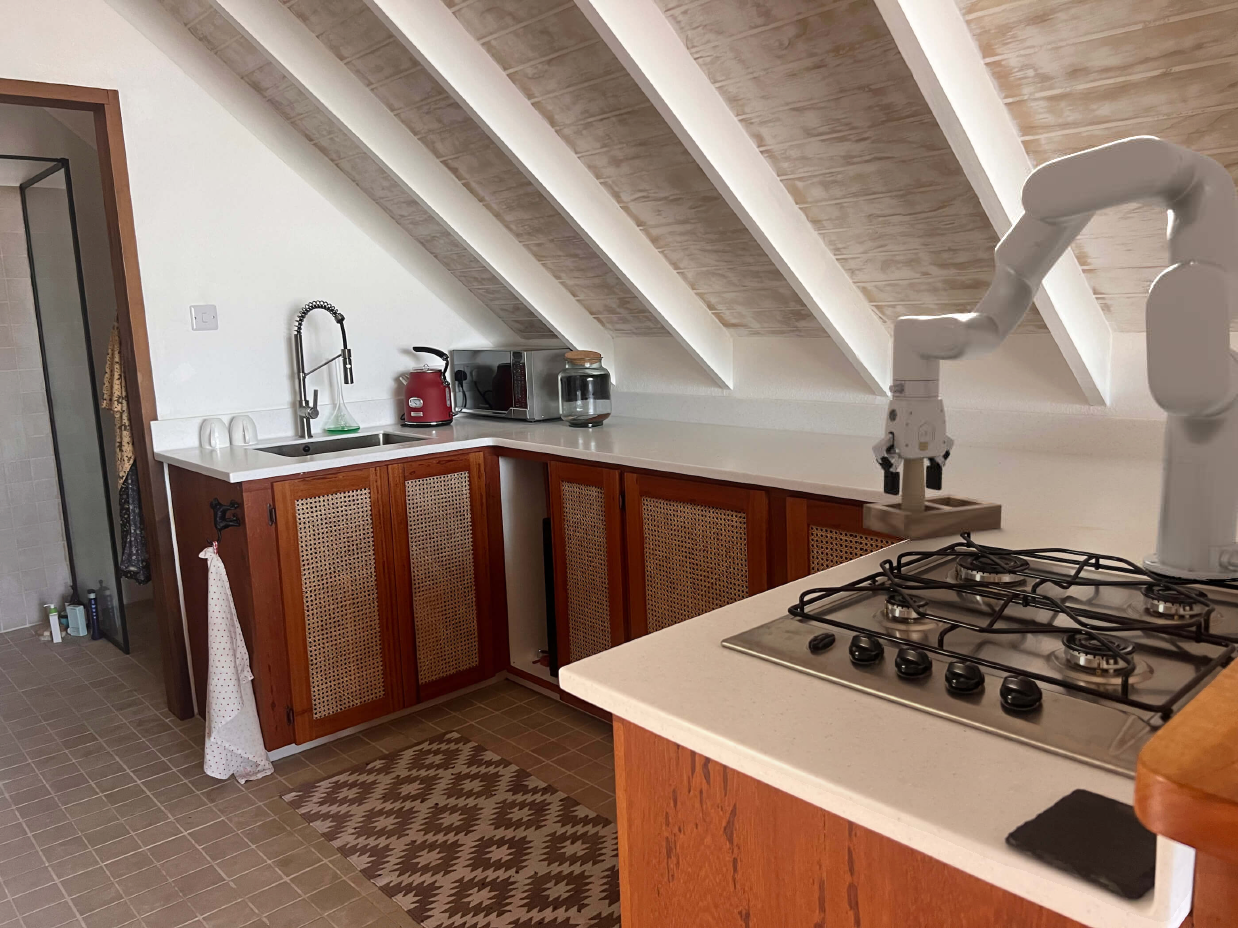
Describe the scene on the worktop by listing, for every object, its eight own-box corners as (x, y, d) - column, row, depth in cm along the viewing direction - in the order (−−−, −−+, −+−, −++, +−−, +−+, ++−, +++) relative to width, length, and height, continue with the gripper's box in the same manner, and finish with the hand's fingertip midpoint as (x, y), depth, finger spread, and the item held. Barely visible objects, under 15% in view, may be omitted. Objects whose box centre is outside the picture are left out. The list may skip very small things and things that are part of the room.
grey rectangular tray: (1000, 527, 165) (1001, 504, 164) (912, 540, 156) (912, 516, 156) (948, 515, 176) (949, 494, 175) (863, 527, 167) (863, 504, 166)
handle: (923, 523, 167) (924, 438, 165) (931, 531, 160) (932, 442, 158) (894, 524, 167) (895, 438, 165) (902, 531, 161) (903, 443, 159)
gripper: (891, 394, 153) (888, 500, 156) (970, 389, 161) (967, 490, 163) (859, 391, 160) (857, 493, 162) (937, 387, 168) (934, 484, 170)
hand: (912, 491), depth 163 cm, fingers open, 9 cm apart
